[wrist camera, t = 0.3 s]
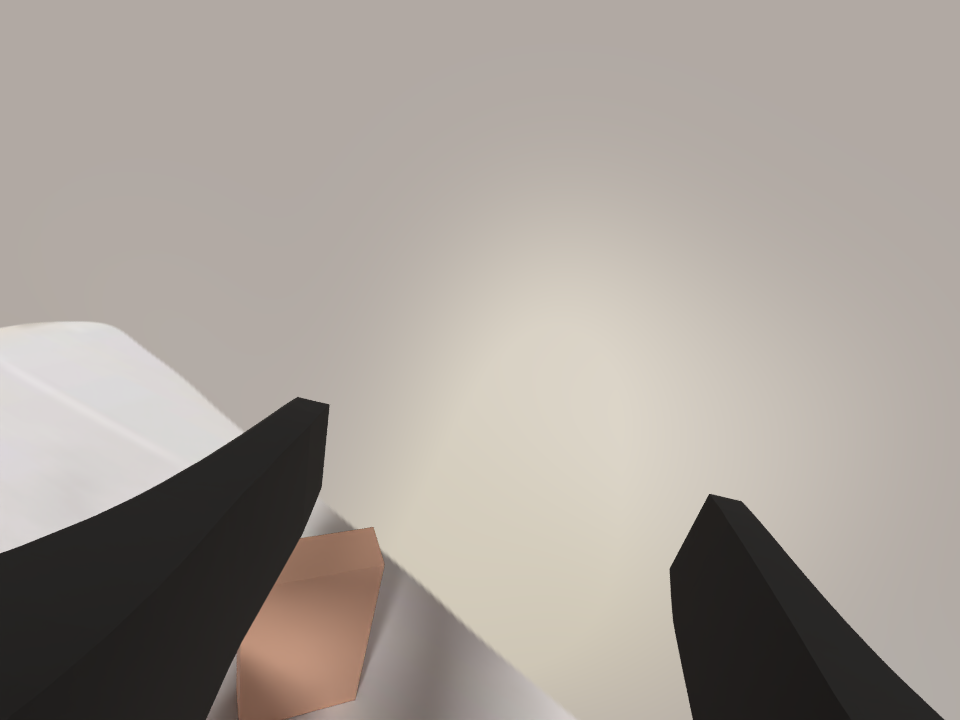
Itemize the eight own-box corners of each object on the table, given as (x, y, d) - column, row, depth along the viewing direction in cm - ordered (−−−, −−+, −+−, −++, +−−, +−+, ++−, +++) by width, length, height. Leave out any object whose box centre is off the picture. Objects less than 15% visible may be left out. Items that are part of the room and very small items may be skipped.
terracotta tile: (355, 699, 28) (384, 564, 23) (239, 731, 26) (241, 590, 21) (347, 663, 29) (373, 526, 24) (236, 690, 27) (237, 547, 22)
